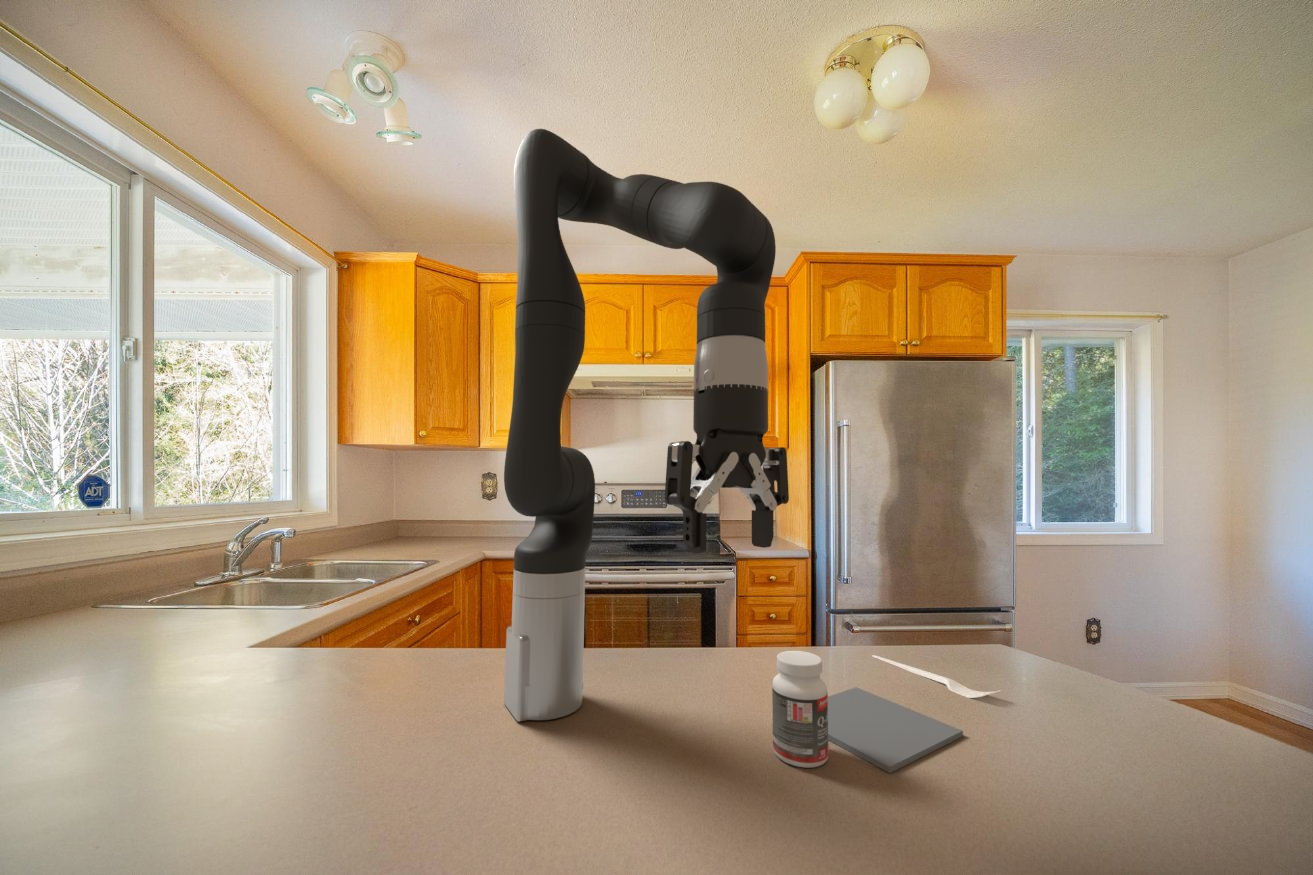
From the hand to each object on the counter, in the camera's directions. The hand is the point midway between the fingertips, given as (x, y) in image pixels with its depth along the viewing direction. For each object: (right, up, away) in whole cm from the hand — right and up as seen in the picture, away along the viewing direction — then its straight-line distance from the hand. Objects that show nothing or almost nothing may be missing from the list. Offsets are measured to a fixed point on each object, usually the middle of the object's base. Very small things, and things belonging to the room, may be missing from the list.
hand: (730, 549), depth 49 cm
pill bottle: (+8, -23, +3) cm, 24 cm away
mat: (+18, -23, +10) cm, 31 cm away
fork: (+33, -25, +25) cm, 49 cm away
